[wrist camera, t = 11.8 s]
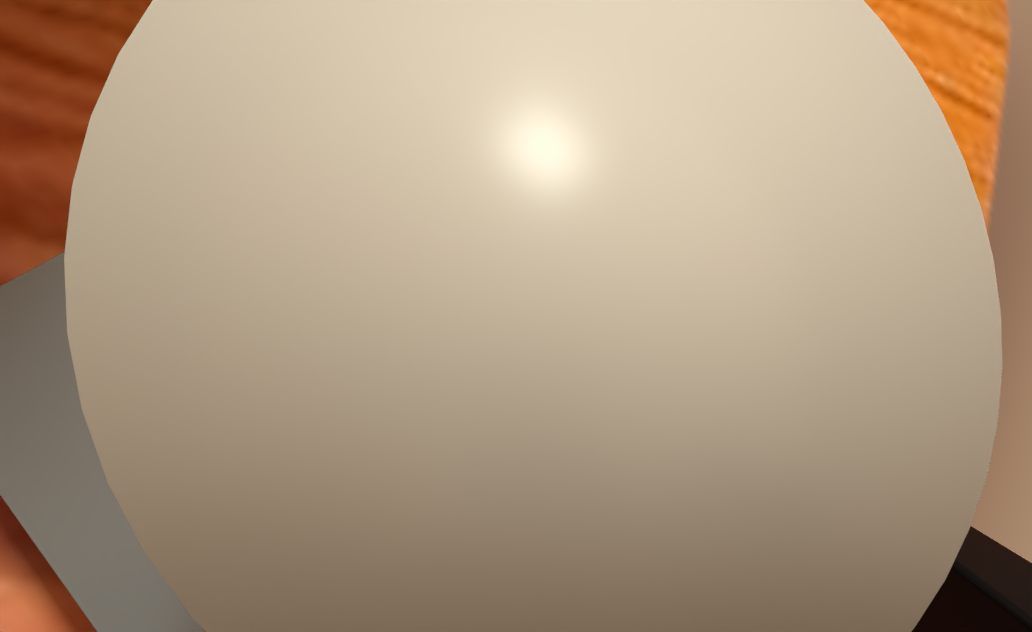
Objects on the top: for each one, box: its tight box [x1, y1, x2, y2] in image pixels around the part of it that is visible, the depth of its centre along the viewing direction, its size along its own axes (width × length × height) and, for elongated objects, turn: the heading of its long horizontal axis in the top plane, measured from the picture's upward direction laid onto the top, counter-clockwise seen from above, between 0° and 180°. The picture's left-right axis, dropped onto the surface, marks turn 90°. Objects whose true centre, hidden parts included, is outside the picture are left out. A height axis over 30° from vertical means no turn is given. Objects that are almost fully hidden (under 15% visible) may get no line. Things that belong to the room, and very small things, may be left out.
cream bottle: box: [64, 0, 1002, 632], centre depth 10 cm, size 5×5×12 cm
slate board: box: [0, 251, 206, 632], centre depth 16 cm, size 12×12×1 cm
